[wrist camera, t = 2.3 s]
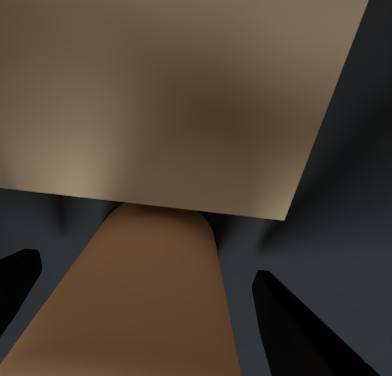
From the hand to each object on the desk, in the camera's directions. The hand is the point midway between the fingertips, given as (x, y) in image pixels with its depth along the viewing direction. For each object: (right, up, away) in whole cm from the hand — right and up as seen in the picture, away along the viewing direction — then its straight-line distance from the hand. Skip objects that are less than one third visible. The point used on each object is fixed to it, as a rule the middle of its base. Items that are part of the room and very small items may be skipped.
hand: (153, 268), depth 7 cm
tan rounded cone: (0, +1, +1) cm, 1 cm away
